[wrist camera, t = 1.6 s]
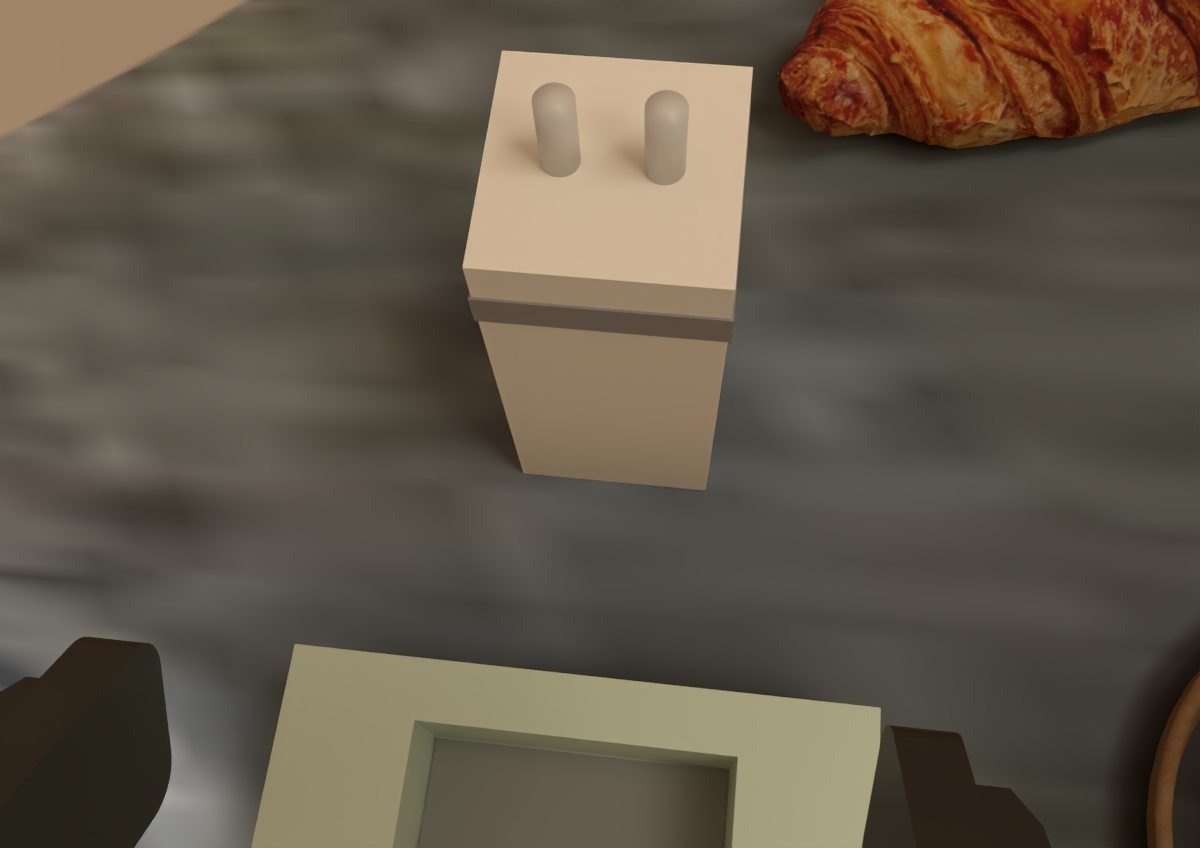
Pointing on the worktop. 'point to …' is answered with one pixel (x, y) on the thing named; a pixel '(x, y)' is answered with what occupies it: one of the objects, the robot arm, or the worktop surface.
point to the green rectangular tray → (554, 761)
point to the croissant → (992, 67)
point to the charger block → (610, 260)
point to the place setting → (1170, 765)
